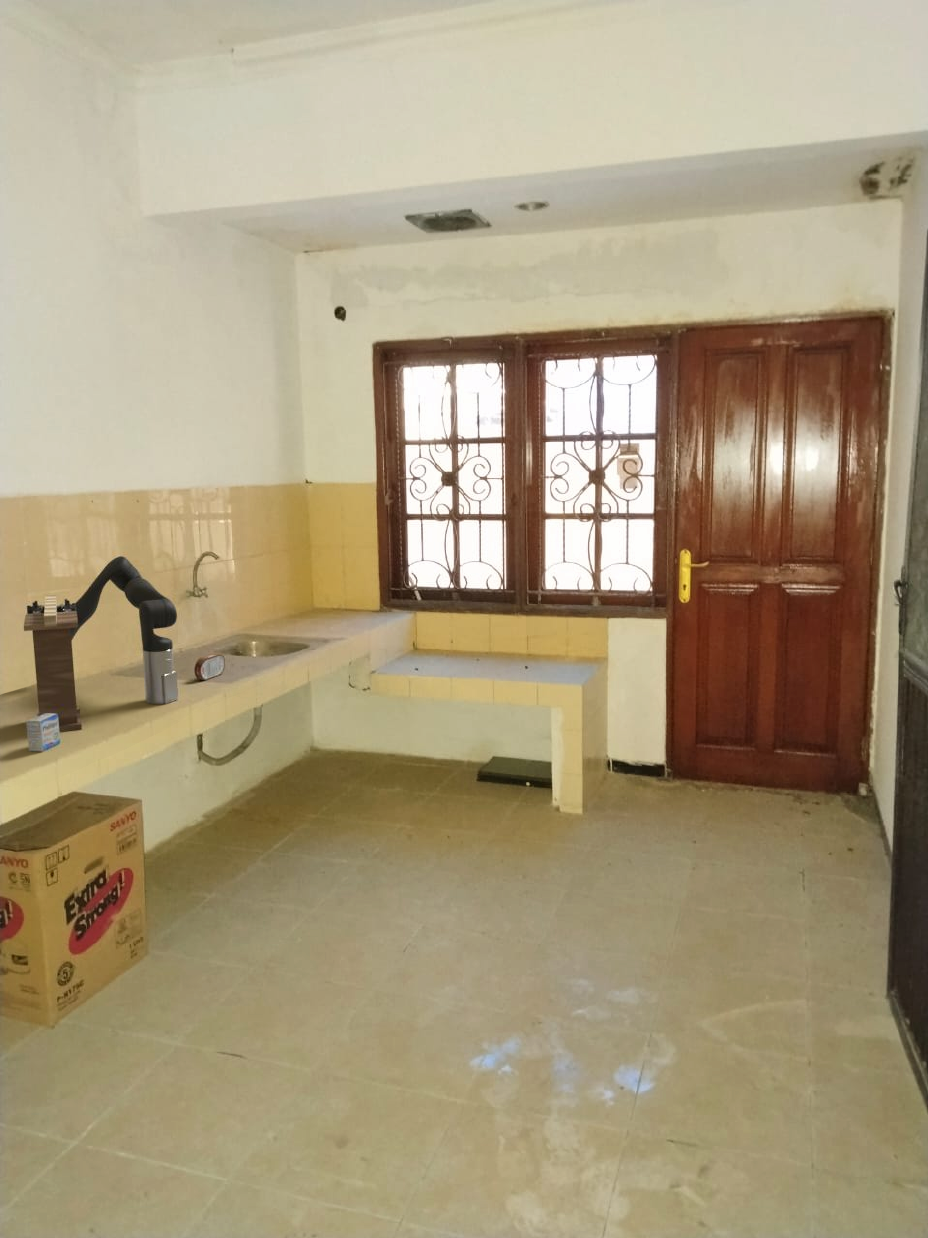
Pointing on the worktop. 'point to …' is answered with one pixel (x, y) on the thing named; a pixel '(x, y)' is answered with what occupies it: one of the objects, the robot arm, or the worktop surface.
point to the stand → (55, 667)
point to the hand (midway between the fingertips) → (51, 602)
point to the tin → (209, 666)
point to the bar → (50, 611)
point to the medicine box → (43, 732)
